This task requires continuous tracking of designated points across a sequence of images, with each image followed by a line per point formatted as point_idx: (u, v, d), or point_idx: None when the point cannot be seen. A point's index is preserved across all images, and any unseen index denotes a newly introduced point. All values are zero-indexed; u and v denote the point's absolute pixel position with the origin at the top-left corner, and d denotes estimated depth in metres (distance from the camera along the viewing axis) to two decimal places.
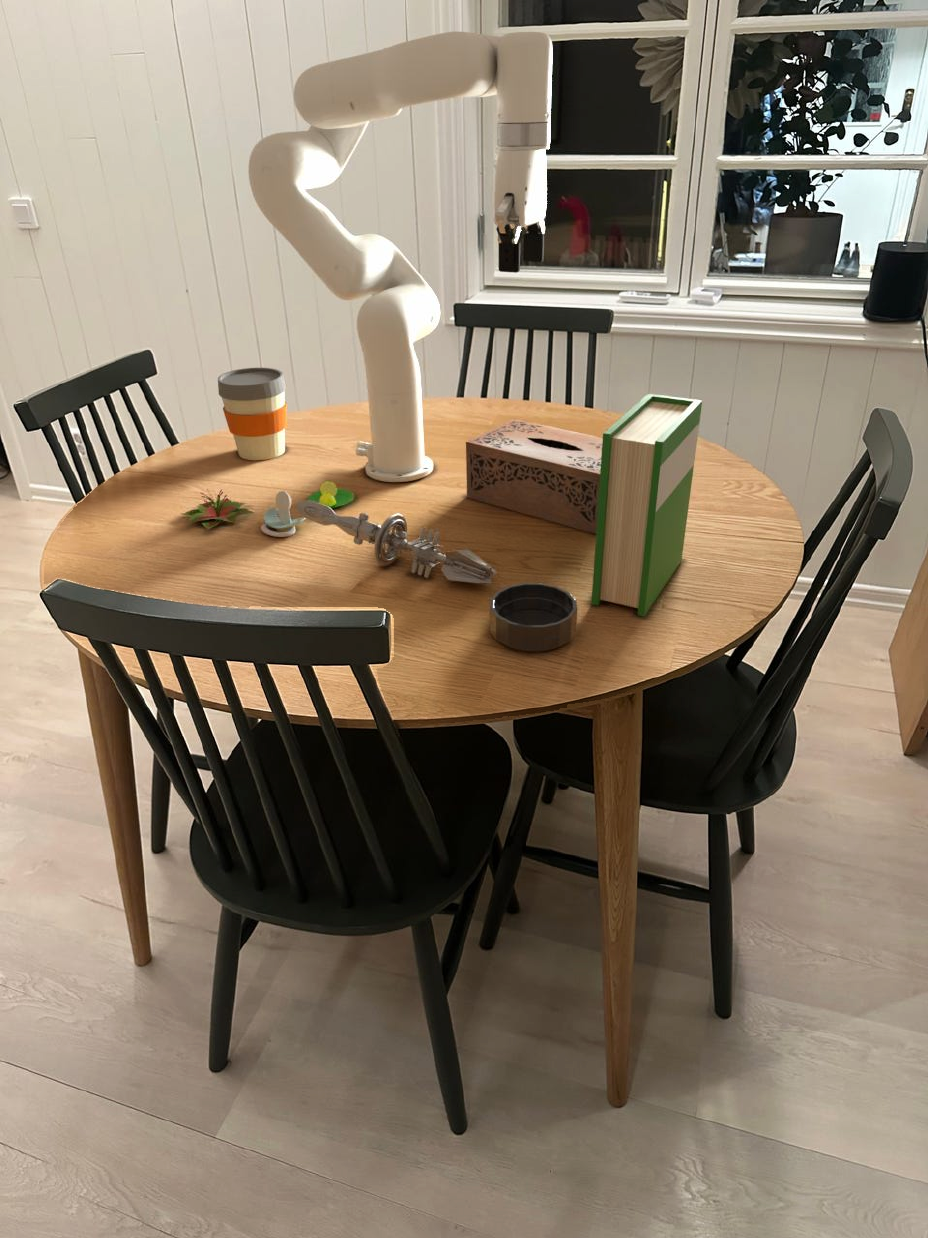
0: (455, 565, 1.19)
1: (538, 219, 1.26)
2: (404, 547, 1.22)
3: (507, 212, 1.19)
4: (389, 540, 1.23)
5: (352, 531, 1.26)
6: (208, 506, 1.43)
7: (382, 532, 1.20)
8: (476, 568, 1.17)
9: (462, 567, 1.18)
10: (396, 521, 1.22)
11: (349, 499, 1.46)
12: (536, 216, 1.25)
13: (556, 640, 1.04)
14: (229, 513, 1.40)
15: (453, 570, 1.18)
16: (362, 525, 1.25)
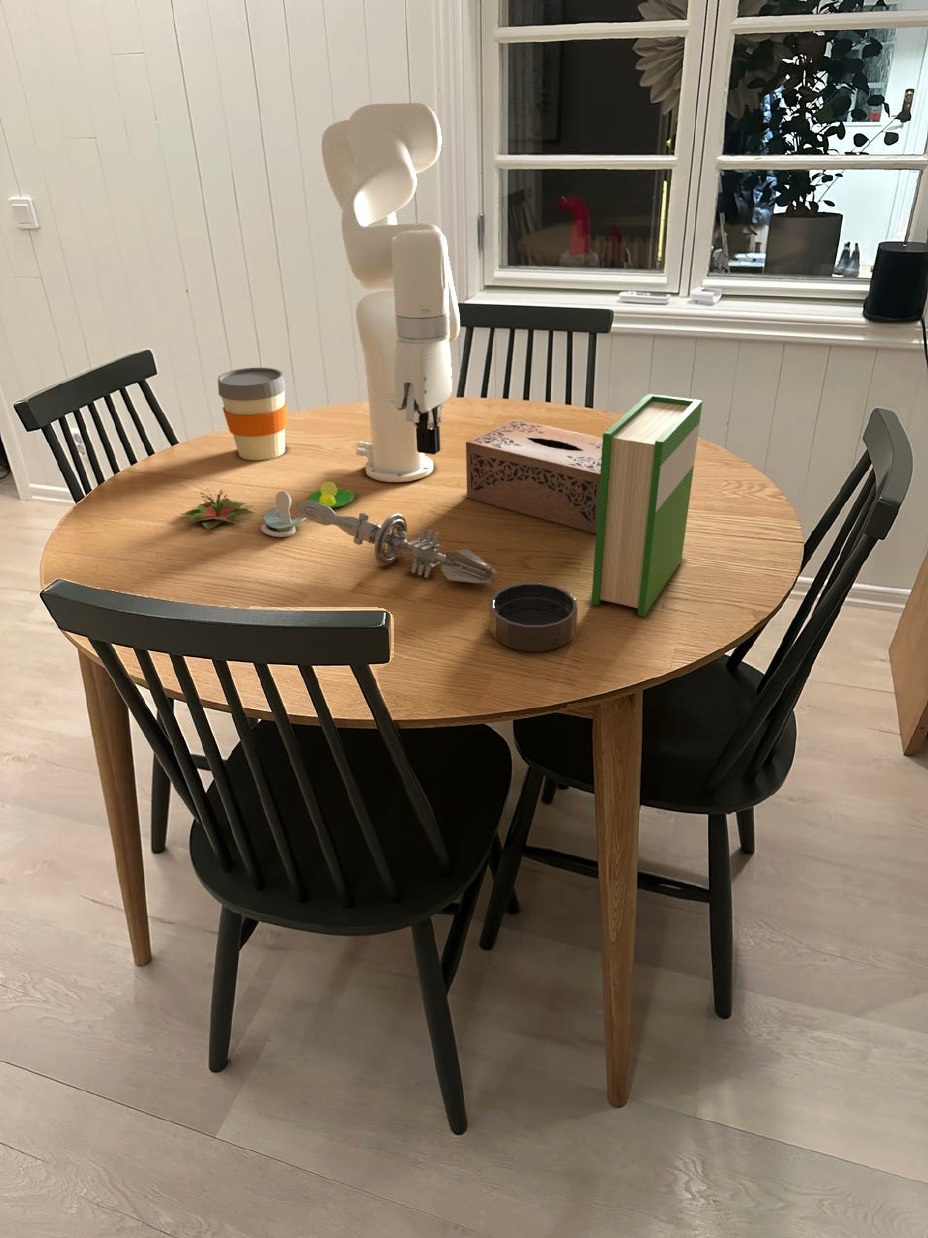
0: (455, 565, 1.19)
1: (443, 400, 1.25)
2: (404, 547, 1.22)
3: (416, 412, 1.21)
4: (389, 540, 1.23)
5: (352, 531, 1.26)
6: (208, 506, 1.43)
7: (382, 532, 1.20)
8: (476, 568, 1.17)
9: (462, 567, 1.18)
10: (396, 521, 1.22)
11: (349, 499, 1.46)
12: (440, 399, 1.24)
13: (556, 640, 1.04)
14: (229, 513, 1.40)
15: (453, 570, 1.18)
16: (362, 525, 1.25)
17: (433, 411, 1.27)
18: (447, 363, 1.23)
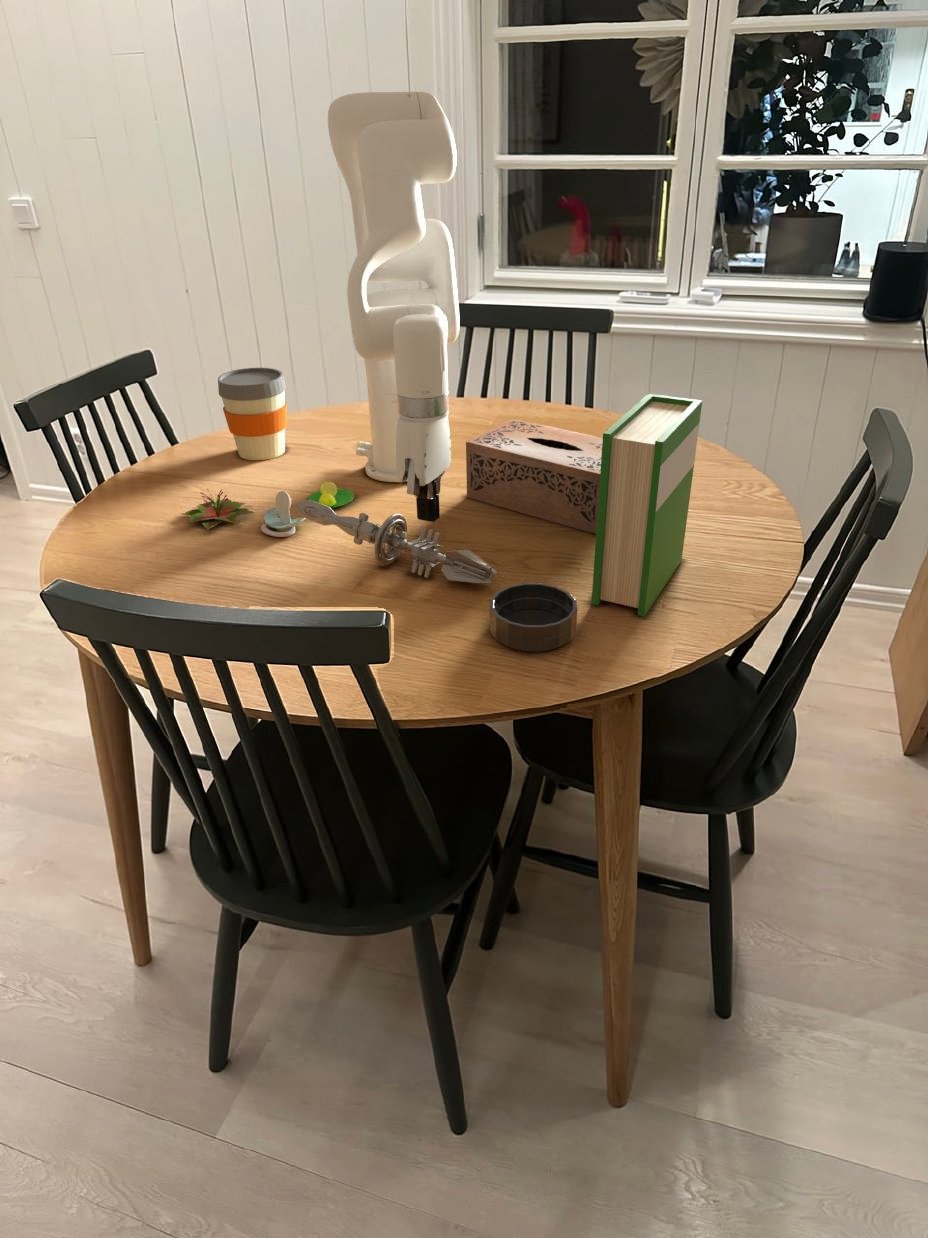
0: (455, 565, 1.19)
1: (442, 471, 1.30)
2: (404, 547, 1.22)
3: (416, 484, 1.26)
4: (389, 540, 1.23)
5: (352, 531, 1.26)
6: (208, 506, 1.43)
7: (382, 532, 1.20)
8: (476, 568, 1.17)
9: (462, 567, 1.18)
10: (396, 521, 1.22)
11: (349, 499, 1.46)
12: (439, 471, 1.29)
13: (556, 640, 1.04)
14: (229, 513, 1.40)
15: (453, 570, 1.18)
16: (362, 525, 1.25)
17: (433, 481, 1.32)
18: (446, 437, 1.28)
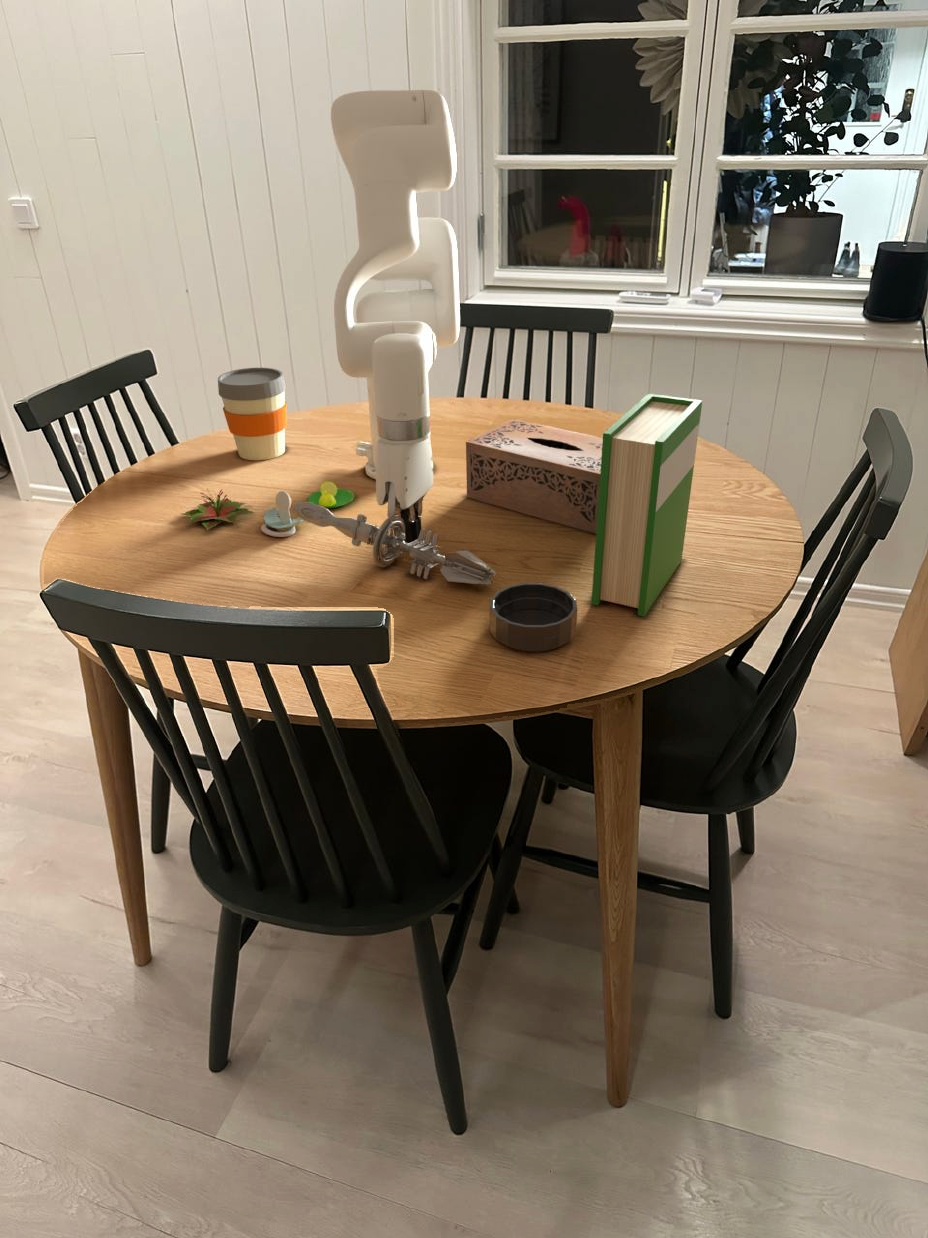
0: (454, 566, 1.19)
1: (424, 493, 1.26)
2: (403, 548, 1.22)
3: (397, 508, 1.22)
4: (388, 541, 1.22)
5: (350, 533, 1.25)
6: (208, 506, 1.43)
7: (381, 533, 1.20)
8: (475, 569, 1.17)
9: (461, 568, 1.18)
10: (394, 522, 1.22)
11: (349, 499, 1.46)
12: (421, 493, 1.25)
13: (556, 640, 1.04)
14: (229, 513, 1.40)
15: (452, 571, 1.18)
16: (360, 527, 1.24)
17: (414, 502, 1.28)
18: (428, 458, 1.24)
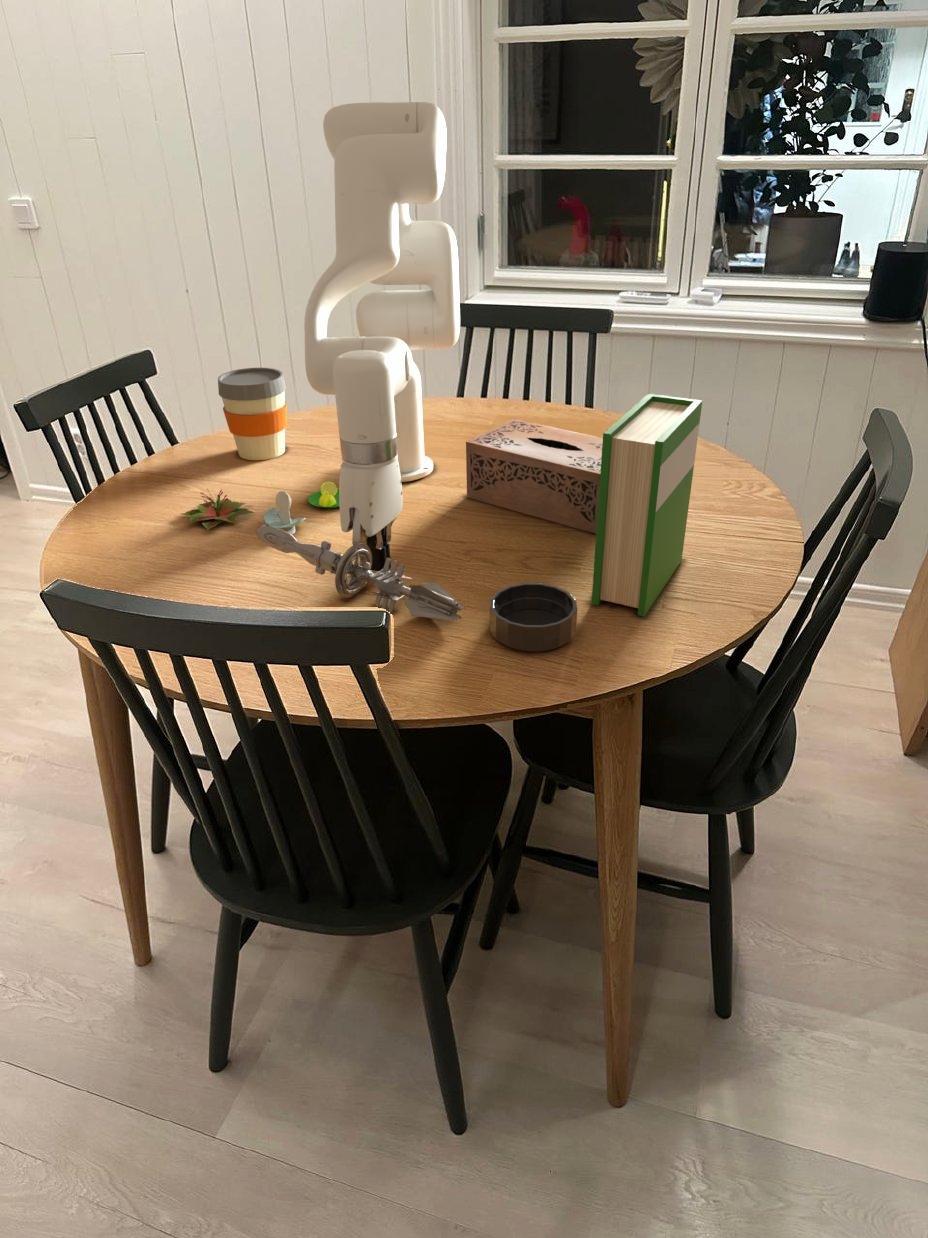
0: (420, 599, 1.11)
1: (392, 519, 1.19)
2: (367, 579, 1.14)
3: (363, 535, 1.15)
4: (352, 571, 1.15)
5: (313, 560, 1.18)
6: (208, 506, 1.43)
7: (343, 563, 1.12)
8: (442, 603, 1.09)
9: (427, 602, 1.10)
10: (359, 551, 1.14)
11: None
12: (389, 519, 1.17)
13: (556, 640, 1.04)
14: (229, 513, 1.40)
15: (418, 605, 1.11)
16: (324, 554, 1.17)
17: (383, 528, 1.20)
18: (396, 481, 1.17)
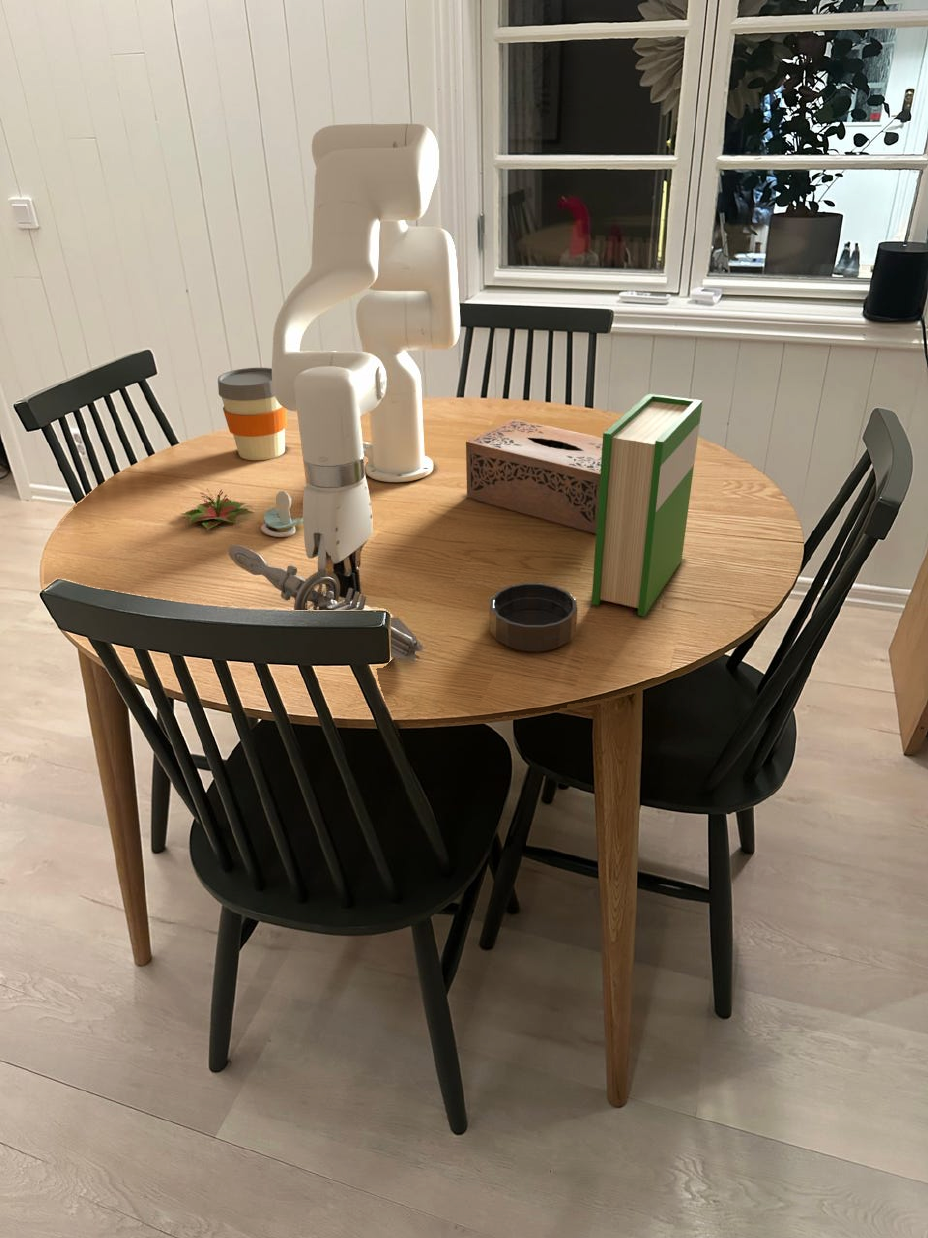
0: None
1: (361, 543, 1.12)
2: (329, 609, 1.08)
3: (329, 562, 1.08)
4: (314, 599, 1.09)
5: (278, 585, 1.12)
6: (208, 506, 1.43)
7: (303, 591, 1.06)
8: (399, 642, 1.02)
9: None
10: (322, 579, 1.08)
11: None
12: (357, 544, 1.11)
13: (556, 640, 1.04)
14: (229, 513, 1.40)
15: None
16: (289, 580, 1.11)
17: (352, 553, 1.14)
18: (365, 504, 1.10)
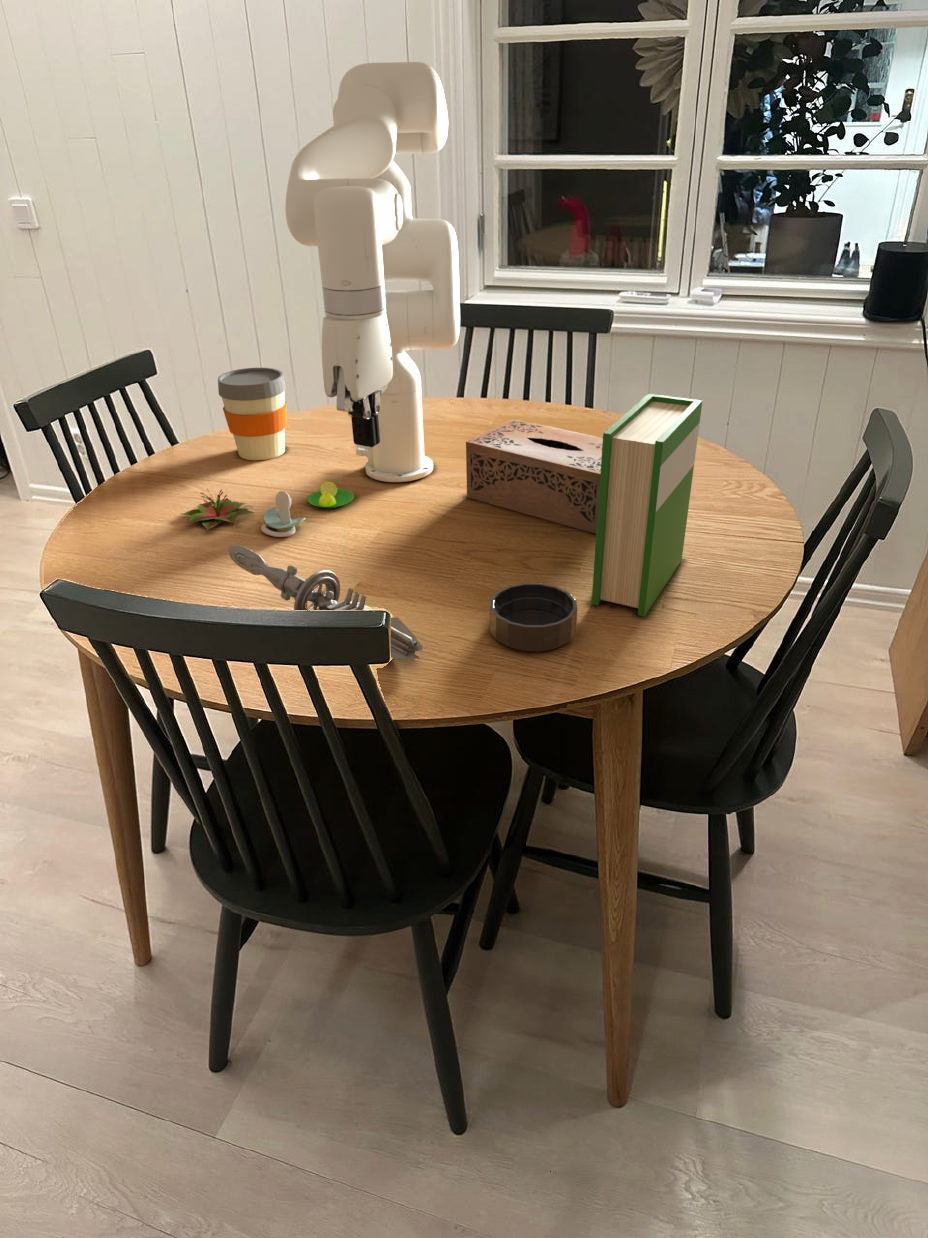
0: None
1: (381, 385, 1.09)
2: (329, 609, 1.08)
3: (348, 399, 1.05)
4: (314, 599, 1.08)
5: (278, 585, 1.12)
6: (208, 506, 1.43)
7: (303, 591, 1.06)
8: (399, 642, 1.02)
9: None
10: (322, 579, 1.08)
11: (349, 499, 1.46)
12: (377, 384, 1.08)
13: (556, 640, 1.04)
14: (229, 513, 1.40)
15: None
16: (288, 580, 1.11)
17: (371, 397, 1.11)
18: (385, 343, 1.07)
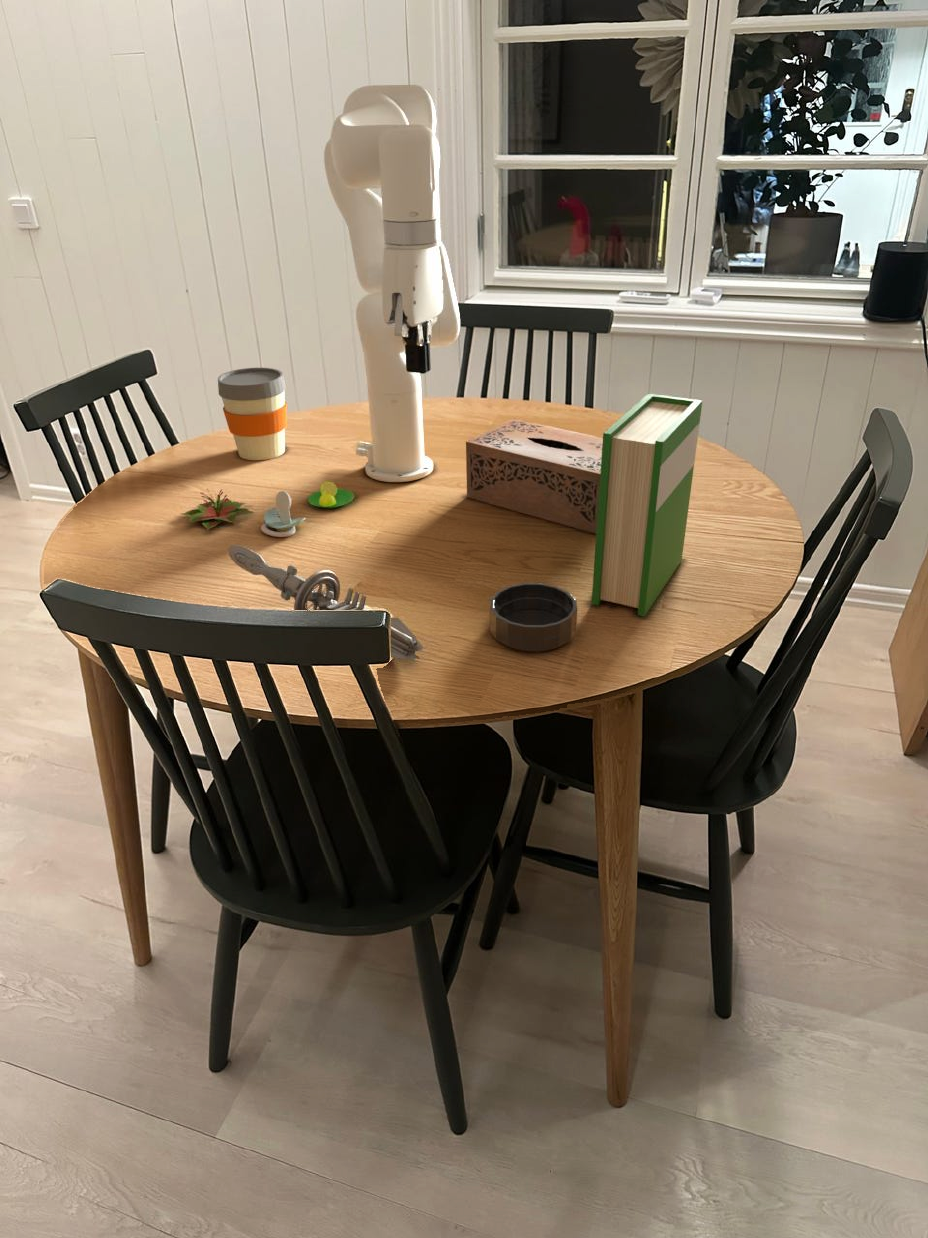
0: None
1: (433, 315, 1.19)
2: (329, 609, 1.08)
3: (405, 325, 1.15)
4: (314, 599, 1.08)
5: (278, 585, 1.12)
6: (208, 506, 1.43)
7: (303, 591, 1.06)
8: (399, 642, 1.02)
9: None
10: (322, 579, 1.08)
11: (349, 499, 1.46)
12: (430, 313, 1.18)
13: (556, 640, 1.04)
14: (229, 513, 1.40)
15: None
16: (288, 580, 1.11)
17: (423, 327, 1.21)
18: (438, 275, 1.17)
